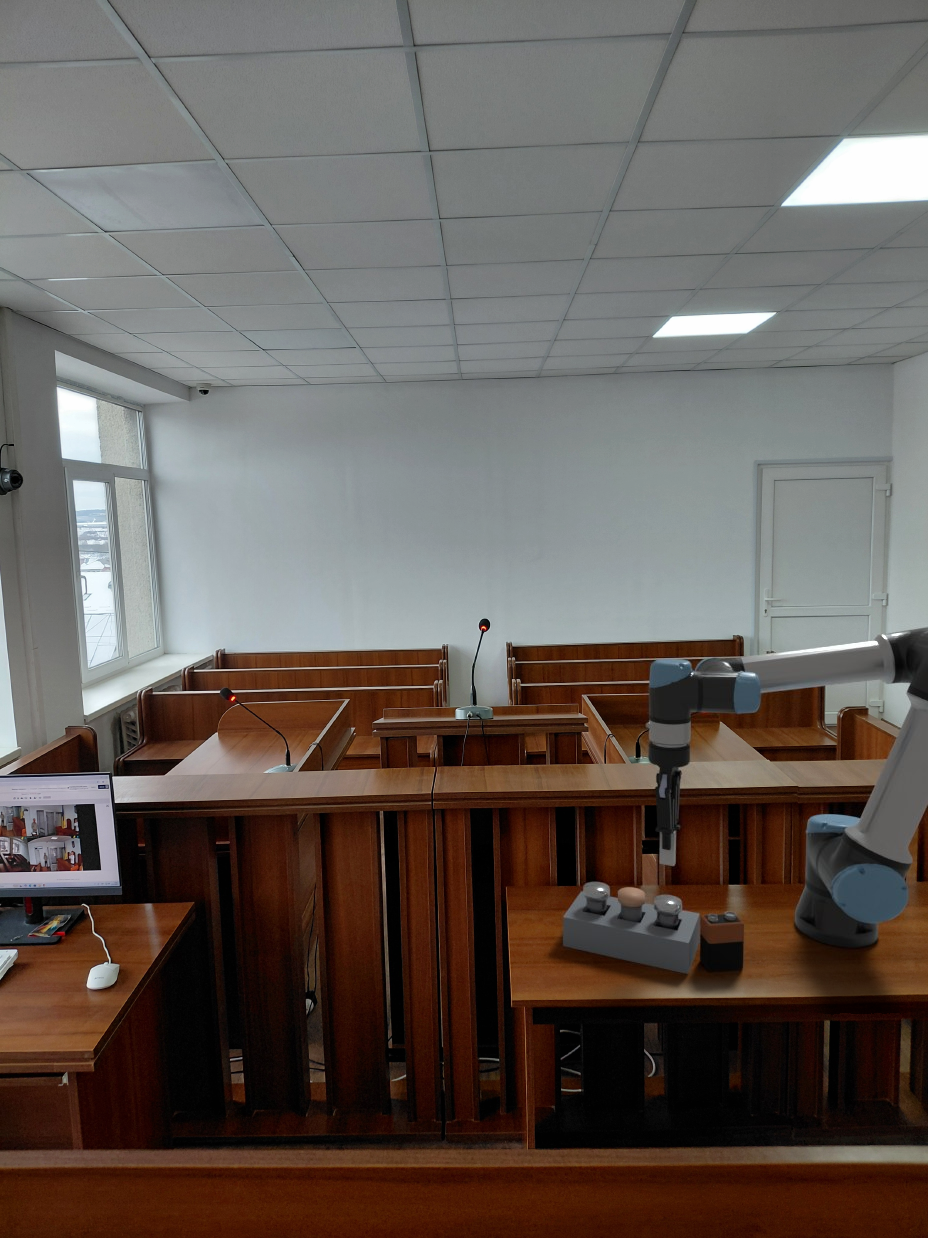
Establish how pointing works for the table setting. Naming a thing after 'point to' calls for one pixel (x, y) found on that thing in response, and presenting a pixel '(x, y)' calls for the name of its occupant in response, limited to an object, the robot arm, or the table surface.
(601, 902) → the plunger
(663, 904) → the plunger
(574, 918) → the console
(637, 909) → the plunger mid
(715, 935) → the battery
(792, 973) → the table surface
